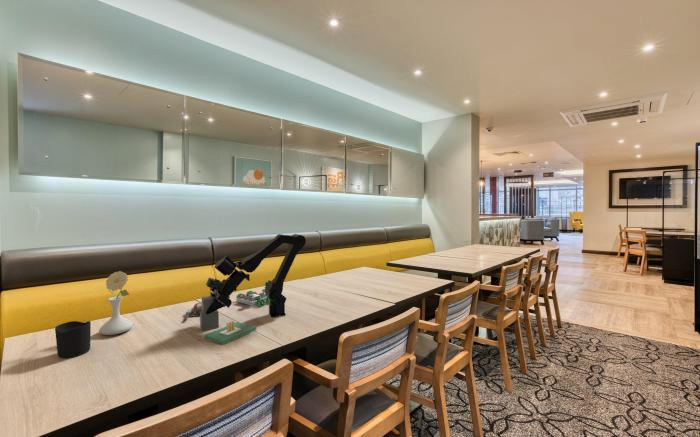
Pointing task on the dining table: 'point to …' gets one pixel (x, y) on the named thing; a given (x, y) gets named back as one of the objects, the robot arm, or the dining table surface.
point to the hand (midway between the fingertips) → (205, 312)
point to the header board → (229, 332)
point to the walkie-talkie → (194, 311)
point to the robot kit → (253, 298)
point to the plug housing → (210, 319)
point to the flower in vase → (116, 306)
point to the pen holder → (73, 338)
